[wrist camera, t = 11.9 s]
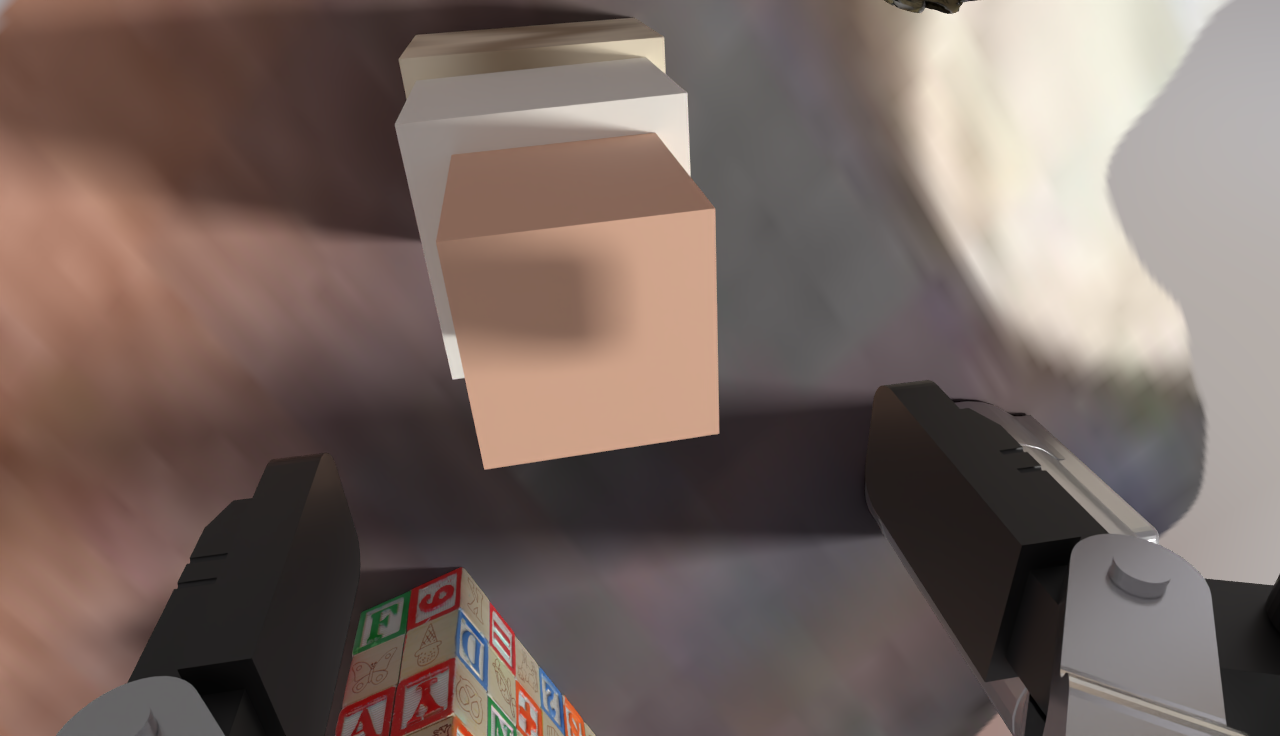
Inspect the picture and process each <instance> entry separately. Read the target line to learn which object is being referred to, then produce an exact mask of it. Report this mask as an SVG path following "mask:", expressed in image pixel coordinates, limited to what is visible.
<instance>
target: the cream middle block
mask: <svg viewBox="0 0 1280 736" xmlns="http://www.w3.org/2000/svg"><path fill="white" fill-rule="evenodd" d="M395 128H396V133H397V137H398V142H399V146H400V150H401V155H402V159H403V164H404V168H405V173H406V177H407V181H408V186H409V190H410V195H411V199H412V203H413V208H414V212H415V217H416V221H417V225H418V230H419V234H420V239H421V243H422V247H423V252H424V256H425V261H426V265H427V269H428V274H429V278H430V283H431V287H432V291H433V296H434V300H435V305H436V309H437V313H438V318H439V322H440V327H441V331H442V335H443V340H444V344H445V349H446V353H447V357H448V362H449V366H450V371H451V375H452V379H460V378H465V377H464V372H463V367H462V362H461V358H460V353H459V348H458V344H457V339H456V334H455V330H454V325H453V320H452V315H451V311H450V306H449V301H448V297H447V292H446V287H445V283H444V278H443V273H442V269H441V264H440V259H439V254H438V250H437V245H436V239H437V233H438V228H439V222H440V216H441V211H442V205H443V200H444V194H445V188H446V183H447V177H448V172H449V166H450V161H451V155H454V154H464V153H473V152H482V151H491V150H500V149H510V148H519V147H528V146H537V145H546V144H555V143H565V142H574V141H583V140H592V139H601V138H610V137H620V136H629V135H638V134H647V133H656V134H657V135H658V137H659V138H660V139H661V140H662V142H663V143H664V144H665V145H666V147H667V148H668V149H669V151H670V152H671V153H672V154H673V156H674V157H675V158H676V159H677V161H678V162H679V163H680V164H681V166H682V167H683V168H684V170H685V171H686V172H687V173H688V175H689V176H690V151H689V125H688V99H687V92H686V91H685V90H683V89H682V88H681V87H680V86H679V85H678V84H676V83H675V82H674V81H673V80H672V79H671V78H669V77H668V76H667V75H666V74H665V73H664V72H662V71H661V70H660V69H659V68H658V67H657V66H655V65H654V64H653V63H652V62H651V61H650V60H648V59H647V58H646V57H641V58H631V59H621V60H612V61H602V62H592V63H582V64H573V65H563V66H553V67H543V68H533V69H524V70H514V71H504V72H494V73H485V74H475V75H465V76H455V77H446V78H436V79H426V80H416V82H415V84H414V86H413V88H412V90H411V92H410V94H409V96H408V98H407V100H406V102H405V104H404V106H403V108H402V110H401V112H400V114H399V117H398V119H397V121H396V123H395Z"/></svg>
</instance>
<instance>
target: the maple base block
mask: <svg viewBox="0 0 1280 736" xmlns="http://www.w3.org/2000/svg"><path fill="white" fill-rule="evenodd" d="M641 57H646V58H647V59H648V60H650V61H651V62H652V63H653V64H654V65H655V66H657V67H658V68H659V69H660V70H661V71H662V72H664V73H665V48H664V37H663V36H662V35H660V34H658V33H657V32H655V31H654V30H652V29H651V28H649V27H648V26H646V25H645V24H643V23H642V22H640V21H638V20H637V19H635V18H623V19H610V20H598V21H585V22H572V23H560V24H547V25H535V26H522V27H509V28H497V29H484V30H471V31H459V32H446V33H433V34H421V35H415V37H414V38H413V39H412V41H411V42H410V44H409V45H408V46H407V48H406V49H405V51H404V52H403V53H402V55H401V56H400V58H399V64H400V69H401V74H402V79H403V84H404V89H405V94H406V99H407V98H408V96H409V94H410V92H411V90H412V88H413V86H414V84H415V82H416V80H426V79H436V78H446V77H455V76H465V75H475V74H485V73H494V72H504V71H514V70H524V69H533V68H543V67H553V66H563V65H573V64H582V63H592V62H602V61H612V60H621V59H631V58H641Z"/></svg>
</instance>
